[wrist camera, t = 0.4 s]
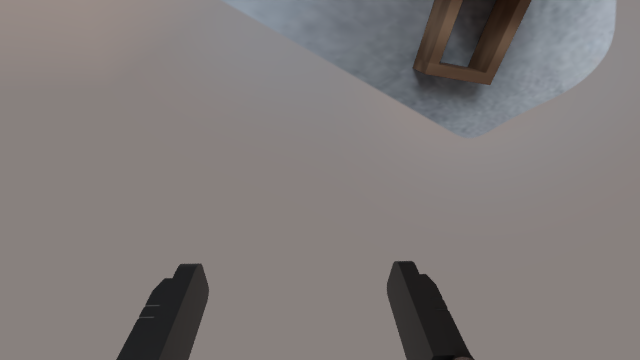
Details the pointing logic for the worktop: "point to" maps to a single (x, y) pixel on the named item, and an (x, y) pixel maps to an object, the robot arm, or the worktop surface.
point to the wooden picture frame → (488, 50)
